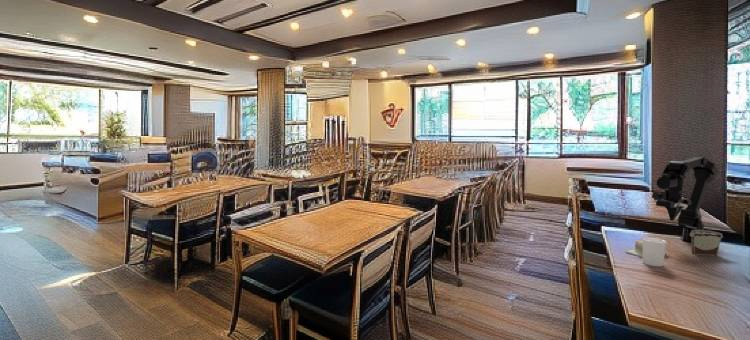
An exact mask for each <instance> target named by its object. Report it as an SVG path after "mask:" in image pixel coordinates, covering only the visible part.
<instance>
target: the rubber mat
mask: <svg viewBox="0 0 750 340" xmlns="http://www.w3.org/2000/svg"><path fill="white" fill-rule="evenodd" d="M625 253H627V254H629V255H633V256H637V257H640V258H643V254H642V253H639V252H635V248H634V249H629V250H625ZM666 254H667V253H666V252H665V255H666Z"/></svg>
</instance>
